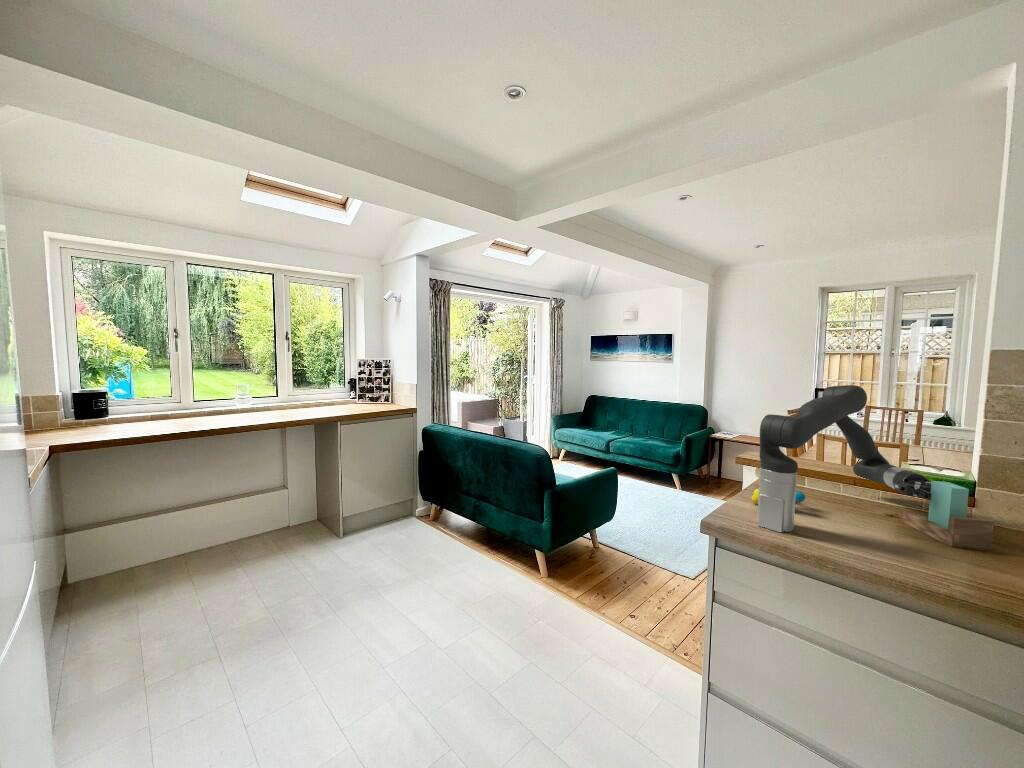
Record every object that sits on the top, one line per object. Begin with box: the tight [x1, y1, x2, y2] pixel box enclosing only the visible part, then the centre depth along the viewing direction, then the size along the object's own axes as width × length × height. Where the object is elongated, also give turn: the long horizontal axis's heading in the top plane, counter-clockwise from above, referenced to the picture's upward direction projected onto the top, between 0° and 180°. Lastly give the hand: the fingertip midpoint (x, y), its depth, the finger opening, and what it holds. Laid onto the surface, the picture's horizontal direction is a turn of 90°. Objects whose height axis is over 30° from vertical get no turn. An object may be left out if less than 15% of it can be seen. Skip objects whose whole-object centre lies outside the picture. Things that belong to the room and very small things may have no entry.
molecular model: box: [751, 488, 806, 506], centre depth 142 cm, size 15×10×15 cm
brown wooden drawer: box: [901, 510, 995, 551], centre depth 119 cm, size 18×9×8 cm, turn 169°
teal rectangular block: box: [927, 480, 970, 530], centre depth 118 cm, size 7×4×14 cm, turn 168°
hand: (947, 498), depth 118 cm, fingers open, 8 cm apart
